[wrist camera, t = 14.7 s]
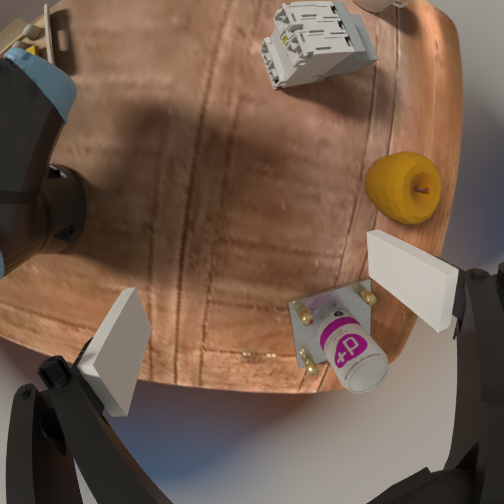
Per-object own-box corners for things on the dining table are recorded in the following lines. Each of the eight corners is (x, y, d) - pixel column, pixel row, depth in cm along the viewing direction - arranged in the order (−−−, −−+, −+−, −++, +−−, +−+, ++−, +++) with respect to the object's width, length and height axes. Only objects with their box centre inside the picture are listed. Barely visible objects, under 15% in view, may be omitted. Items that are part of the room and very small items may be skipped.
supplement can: (306, 325, 49) (336, 379, 35) (344, 300, 48) (385, 346, 34) (324, 351, 51) (354, 403, 37) (359, 328, 51) (397, 374, 37)
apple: (399, 215, 46) (445, 233, 34) (350, 210, 44) (393, 228, 32) (405, 157, 43) (454, 160, 31) (356, 146, 41) (402, 143, 29)
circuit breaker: (352, 77, 37) (403, 52, 23) (274, 89, 37) (303, 55, 23) (338, 40, 35) (382, 5, 21) (259, 49, 35) (280, 3, 20)
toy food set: (-20, 146, 31) (-44, 147, 23) (-26, 81, 25) (-46, 77, 18) (66, 73, 31) (45, 61, 24) (56, 10, 25) (40, -5, 18)
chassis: (297, 365, 53) (304, 381, 48) (287, 300, 48) (294, 314, 43) (367, 342, 54) (378, 355, 49) (368, 277, 49) (381, 287, 44)
